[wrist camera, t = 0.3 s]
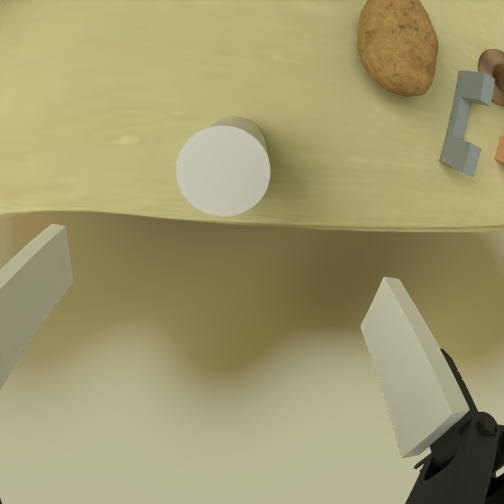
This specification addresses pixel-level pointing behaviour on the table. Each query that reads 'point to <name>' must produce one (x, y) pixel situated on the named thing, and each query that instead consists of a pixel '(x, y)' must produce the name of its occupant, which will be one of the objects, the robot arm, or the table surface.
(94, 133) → the table surface
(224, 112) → the table surface
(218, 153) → the cup
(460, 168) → the gray board
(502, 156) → the orange brown tapered block
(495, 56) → the bobbin
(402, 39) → the potato
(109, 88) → the table surface
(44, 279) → the robot arm
